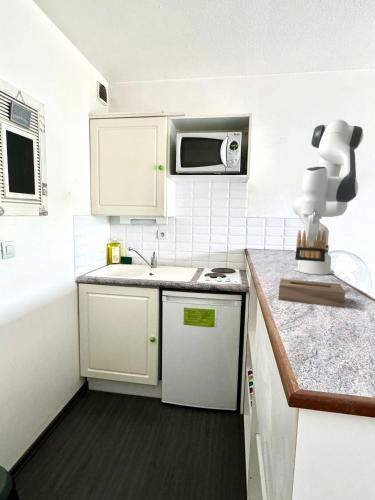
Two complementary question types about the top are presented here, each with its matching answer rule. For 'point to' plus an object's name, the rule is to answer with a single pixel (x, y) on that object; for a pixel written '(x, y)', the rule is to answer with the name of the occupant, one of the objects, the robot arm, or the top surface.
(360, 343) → the top surface
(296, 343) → the top surface
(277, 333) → the top surface
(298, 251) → the ammunition clip
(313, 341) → the top surface
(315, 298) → the slotted wooden block
